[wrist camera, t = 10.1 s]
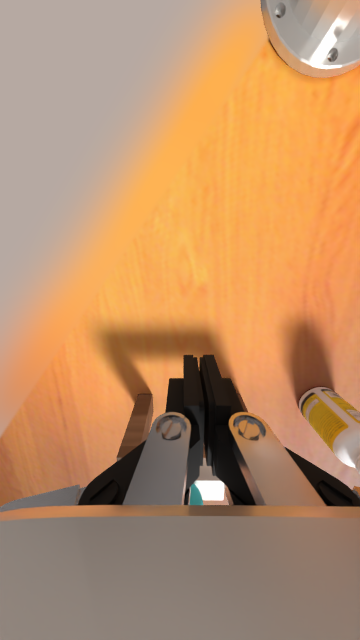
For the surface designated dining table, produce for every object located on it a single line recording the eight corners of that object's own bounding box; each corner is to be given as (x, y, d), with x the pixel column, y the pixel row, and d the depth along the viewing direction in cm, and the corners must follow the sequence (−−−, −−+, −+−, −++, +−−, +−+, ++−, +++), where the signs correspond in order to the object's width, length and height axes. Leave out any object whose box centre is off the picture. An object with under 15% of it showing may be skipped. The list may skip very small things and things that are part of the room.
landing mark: (150, 445, 29) (150, 446, 29) (227, 445, 29) (227, 446, 29) (154, 498, 33) (154, 499, 32) (223, 498, 32) (223, 500, 32)
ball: (168, 480, 33) (167, 480, 29) (200, 480, 33) (203, 480, 29) (167, 527, 29) (165, 534, 25) (202, 526, 29) (206, 534, 25)
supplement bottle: (300, 421, 28) (361, 501, 18) (294, 391, 26) (356, 461, 17) (338, 411, 27) (421, 488, 18) (333, 380, 26) (420, 447, 16)
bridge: (138, 394, 27) (116, 457, 18) (239, 394, 26) (268, 458, 18) (139, 411, 28) (119, 480, 19) (238, 411, 27) (265, 480, 18)
